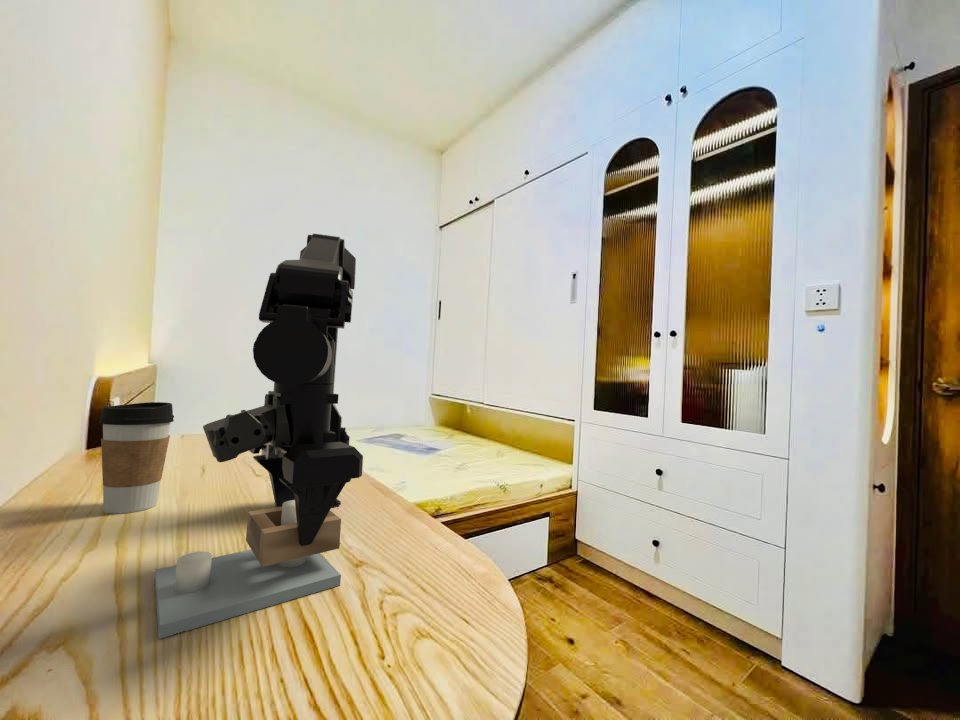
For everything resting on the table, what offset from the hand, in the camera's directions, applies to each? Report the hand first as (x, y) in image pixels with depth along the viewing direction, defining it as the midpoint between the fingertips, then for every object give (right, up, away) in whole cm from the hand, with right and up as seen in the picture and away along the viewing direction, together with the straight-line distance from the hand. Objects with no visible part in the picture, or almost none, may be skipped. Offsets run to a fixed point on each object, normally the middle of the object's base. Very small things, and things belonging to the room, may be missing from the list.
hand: (294, 532), depth 42 cm
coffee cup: (-31, -4, +17) cm, 36 cm away
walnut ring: (0, -1, 0) cm, 1 cm away
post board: (-3, -4, -3) cm, 6 cm away
